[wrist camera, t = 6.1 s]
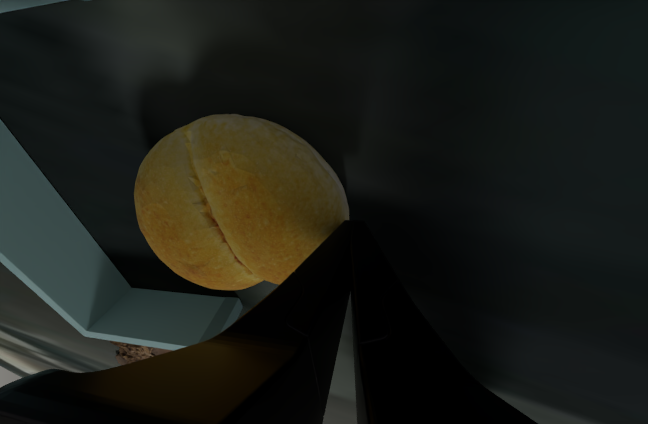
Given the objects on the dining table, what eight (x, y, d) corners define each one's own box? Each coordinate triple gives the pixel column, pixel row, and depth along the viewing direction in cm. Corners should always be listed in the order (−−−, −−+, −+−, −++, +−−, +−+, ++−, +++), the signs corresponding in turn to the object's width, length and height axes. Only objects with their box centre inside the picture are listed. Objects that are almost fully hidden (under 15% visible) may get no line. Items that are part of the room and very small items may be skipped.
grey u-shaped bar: (92, -46, 7) (-128, -123, 4) (242, 306, 17) (211, 367, 14) (-108, -1, 9) (-368, -30, 6) (129, 294, 19) (78, 344, 16)
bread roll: (364, 253, 13) (361, 324, 9) (222, 264, 15) (180, 323, 12) (323, 79, 8) (290, 96, 5) (137, 135, 11) (36, 170, 8)
